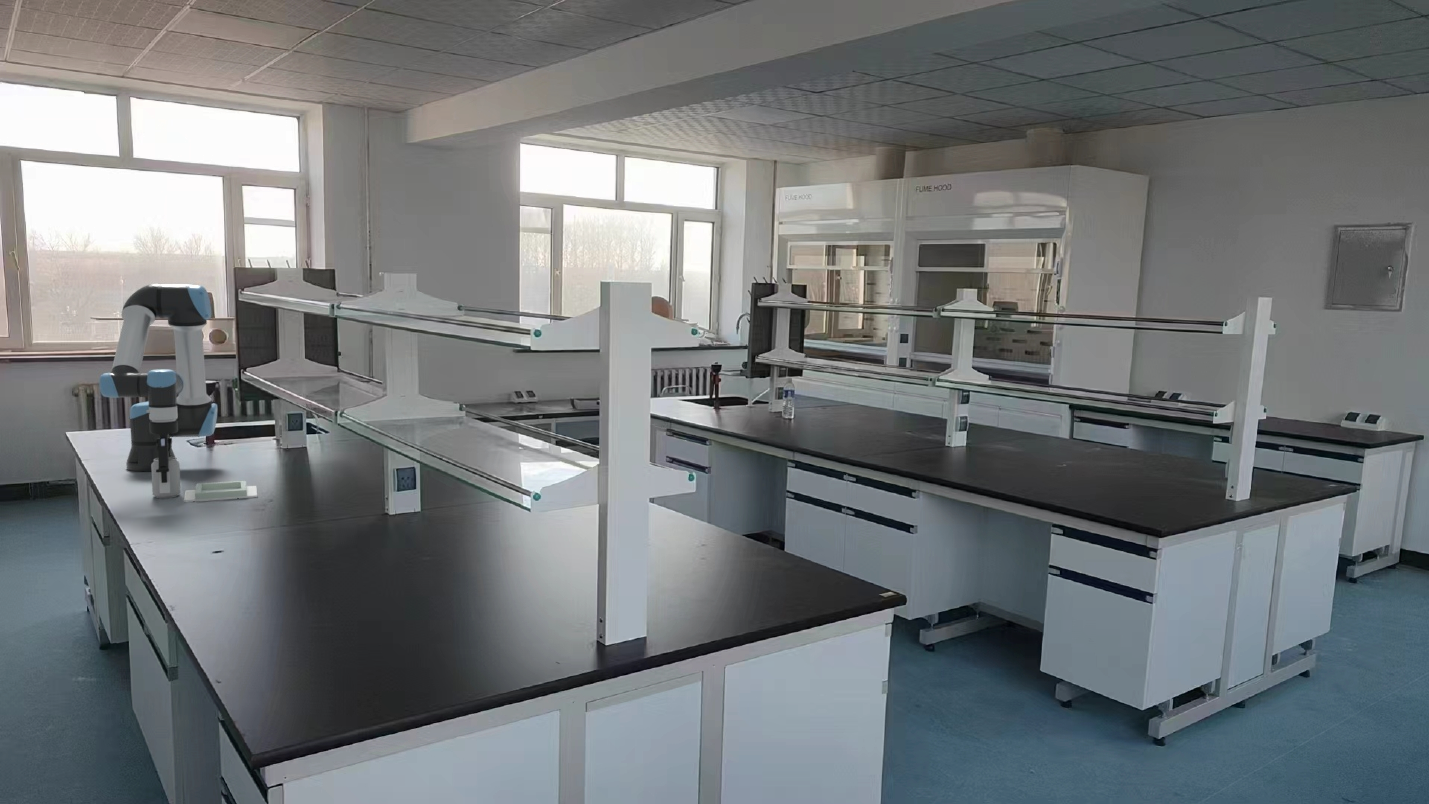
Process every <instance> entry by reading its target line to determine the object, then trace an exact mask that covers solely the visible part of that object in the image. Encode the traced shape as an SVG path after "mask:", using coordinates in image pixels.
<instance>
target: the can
mask: <svg viewBox="0 0 1429 804" xmlns="http://www.w3.org/2000/svg"><path fill="white" fill-rule="evenodd" d="M158 468H159V458H155V459H154V462H153V463H152V464H151V470H152V471H151V487H152V491H151V492H152V495H153V496H154V497H155V498H156V499H171V498H177V497H178V496H179V495H180V494H181V472H180V469H181V468H180V462H179V461H178V459H177V457H176V456H175V457H169V475H170V493H160V488H159V472H157V473H156V470H157V469H158Z"/></svg>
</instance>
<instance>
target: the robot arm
mask: <svg viewBox="0 0 1429 804" xmlns="http://www.w3.org/2000/svg"><path fill="white" fill-rule="evenodd" d="M121 318H122V320H123V321H122V325H121V330H120V334H119V338H118V342H117V346H116V351H115V354H114V358H113V362H112V363H113V364H112V367H111V371H110V372H106V373H102V374H101V375H100V376H99V382H98V384H99V386H98V387H99V391H100V394H101V395H102V396H103V397H105V398H114V399H115V398H116V399H119V398H147V399H148V400H147V401H143V402H139V403H135V404H133V405H132V406H130V409H129V425H130V440H131V441H130V442H131V443H130V444H131V447H130V451H129V453H128V457H127V459H126V470H128V471H132V472H152V470H151V464H152V463H153V462H154V459H155V458H159V468H158V469H157V470H156V473H157V472H159V488H160V493H170V475H169V457H176V455H175V452H174V450H173V448H172V446H173V445H172V444H173V438H194V437H195V438H200V437H210V436H212V435H213V434H214V432H215V430H216V427H217V426H216V425H217V420H218V419H217V418H218V411H219V410H218V409H219V408H218V404H217V403H214V402H213V401H212V400H213V399H212V397H211V396H210V395H208V393H207V383H206V382H207V381H206V367H205V366H206V365H205V353H204V340H203V339H204V337H203V328H204V327H205V326H206V325H207V323H208V322H207V320H210V319H212V304H211V300H210V296H209V293H208V291H207V289H206V288H205V287H204V286H203V285H199V284H198V285H196V284H191V283H189V284H188V283H187V284H186V283H185V284H182V283H179V284H175V283H172V284H171V283H170V284H169V283H167V284H166V283H162V284H161V283H151V284H147V285H145V286H143V287H141V288H138V289H137V290H136V291H134V292H133V293H132V294H131V295H130V296H129V297H128V298H127V300H126V301H125V302H124V305H123V306H122V310H121ZM156 319H166V320H167V325H168V326H170V327H171V328H172V329H173V337H174V339H173V340H174V351H175V352H174V353H175V362H176V363H175V365H176V371H175V370H173V369H166V368H165V369H162V368H161V369H160V368H159V369H152V370H149V371H148V372H147V373H146V372H145V373H143V372H141V368H142V363H143V359H144V355H145V351H146V350H145V349H146V347H147V346H146V345H147V341H148V336H149V332H150V329H151V327H150V326H152V325H153V324H154V323H155V321H156Z"/></svg>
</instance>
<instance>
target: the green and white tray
mask: <svg viewBox="0 0 1429 804" xmlns="http://www.w3.org/2000/svg"><path fill="white" fill-rule="evenodd" d="M184 493H185V494H184V499H183V503H193V501H195V502H207V501H208V502H209V501H220V500H221V501H222V500H236V499H237V498H239V499H249V498H251V499H252V498H253V499H254V498H258V489H257V485H247V481H246V480H234V481H219V482H202V483H196V485H195V489H186V490H185V492H184Z"/></svg>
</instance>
